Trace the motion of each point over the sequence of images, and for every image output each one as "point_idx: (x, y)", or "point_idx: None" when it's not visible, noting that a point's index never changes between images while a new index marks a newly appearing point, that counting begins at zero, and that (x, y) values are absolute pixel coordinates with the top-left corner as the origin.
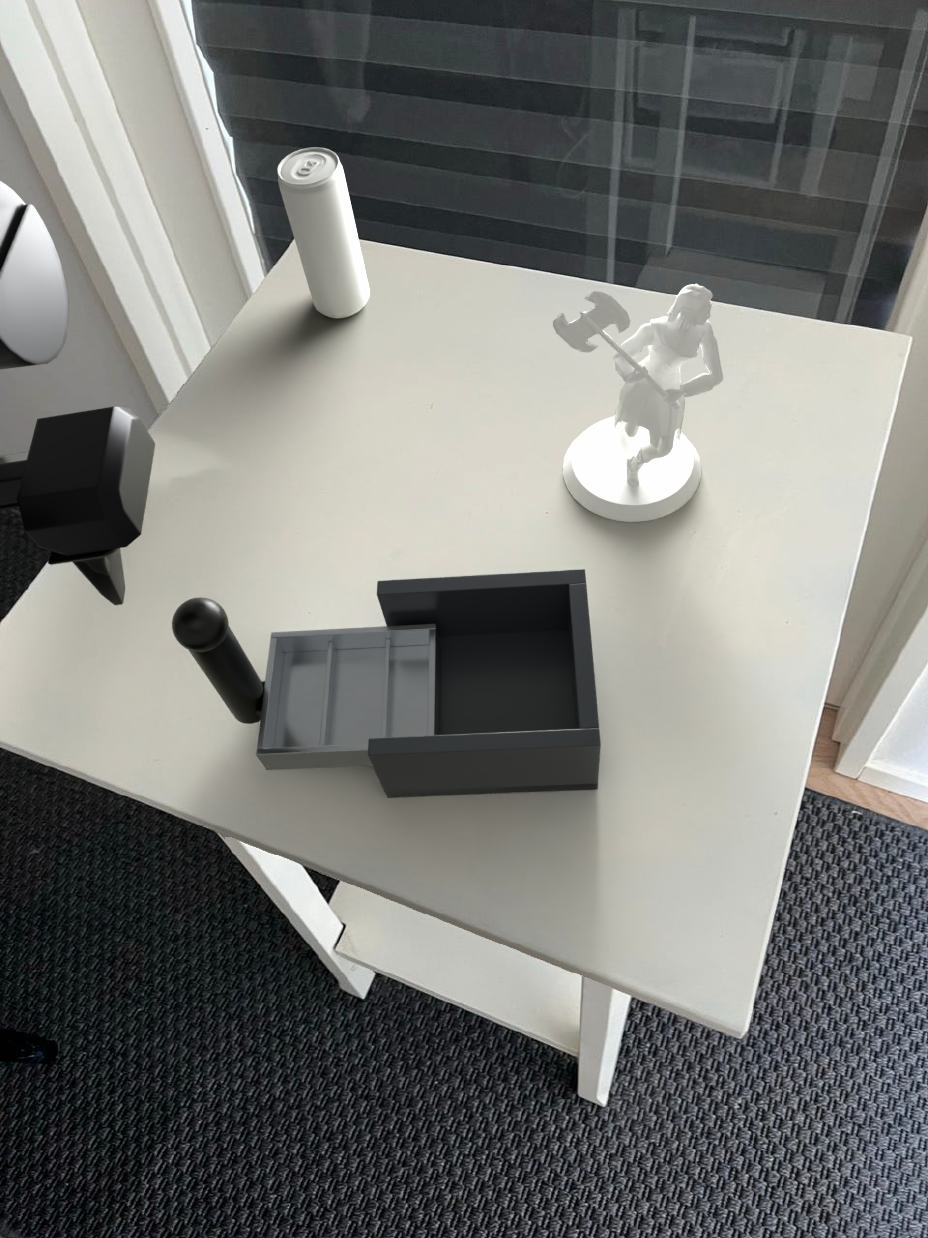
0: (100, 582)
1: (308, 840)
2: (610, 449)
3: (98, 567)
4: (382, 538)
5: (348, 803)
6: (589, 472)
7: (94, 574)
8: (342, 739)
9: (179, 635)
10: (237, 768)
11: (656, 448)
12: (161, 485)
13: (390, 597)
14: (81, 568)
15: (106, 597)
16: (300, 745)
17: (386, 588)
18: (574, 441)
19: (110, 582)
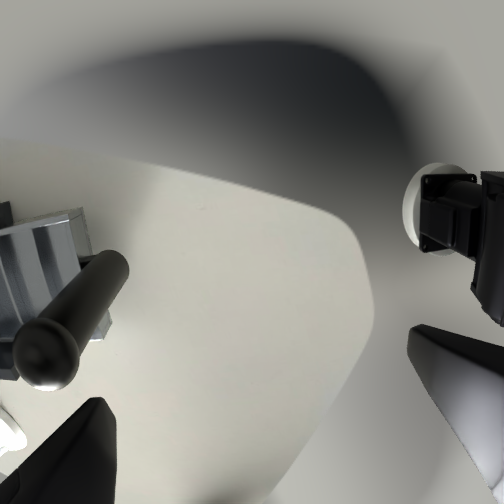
0: (48, 455)
1: (50, 154)
2: (2, 434)
3: (3, 491)
4: None
5: (30, 191)
6: (3, 425)
7: (29, 478)
8: (30, 242)
9: (41, 341)
10: (122, 208)
11: None
12: (281, 436)
13: (5, 365)
14: (23, 502)
15: (86, 417)
16: (58, 233)
17: (7, 373)
18: (24, 442)
19: (37, 450)
